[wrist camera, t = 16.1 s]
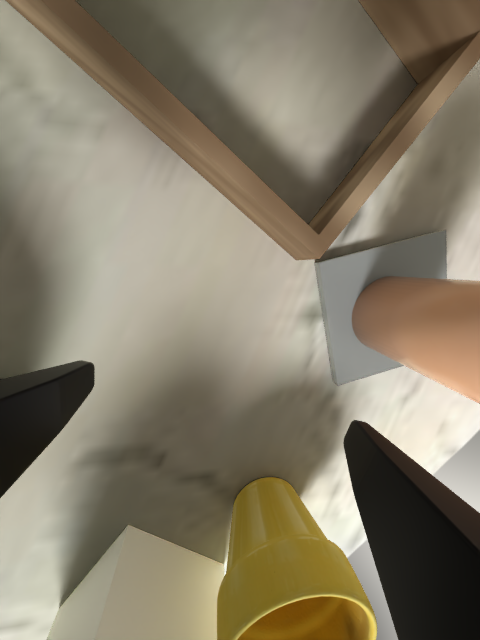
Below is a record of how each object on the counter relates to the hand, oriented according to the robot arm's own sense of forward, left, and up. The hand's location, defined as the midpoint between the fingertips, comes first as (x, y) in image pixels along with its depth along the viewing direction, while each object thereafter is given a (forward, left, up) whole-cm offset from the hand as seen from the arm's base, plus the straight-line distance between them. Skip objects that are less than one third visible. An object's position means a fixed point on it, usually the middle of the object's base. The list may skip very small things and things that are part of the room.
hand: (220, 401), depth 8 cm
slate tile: (+15, -2, -11) cm, 19 cm away
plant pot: (+1, -20, -11) cm, 23 cm away
